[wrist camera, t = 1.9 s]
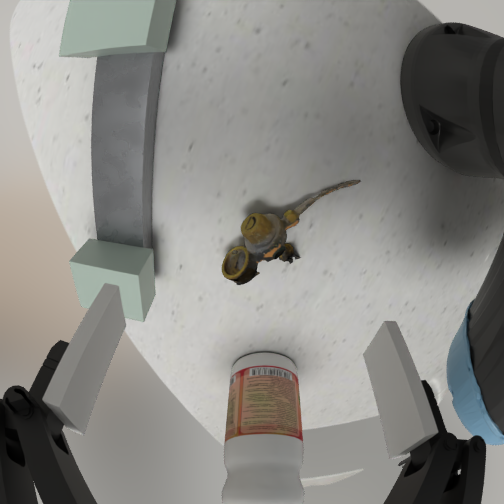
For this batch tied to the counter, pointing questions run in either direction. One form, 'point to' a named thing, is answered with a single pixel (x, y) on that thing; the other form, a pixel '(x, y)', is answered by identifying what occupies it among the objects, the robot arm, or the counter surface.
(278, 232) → the regulator
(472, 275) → the counter surface
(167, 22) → the mounted modules
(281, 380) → the fruit juice
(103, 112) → the rail
